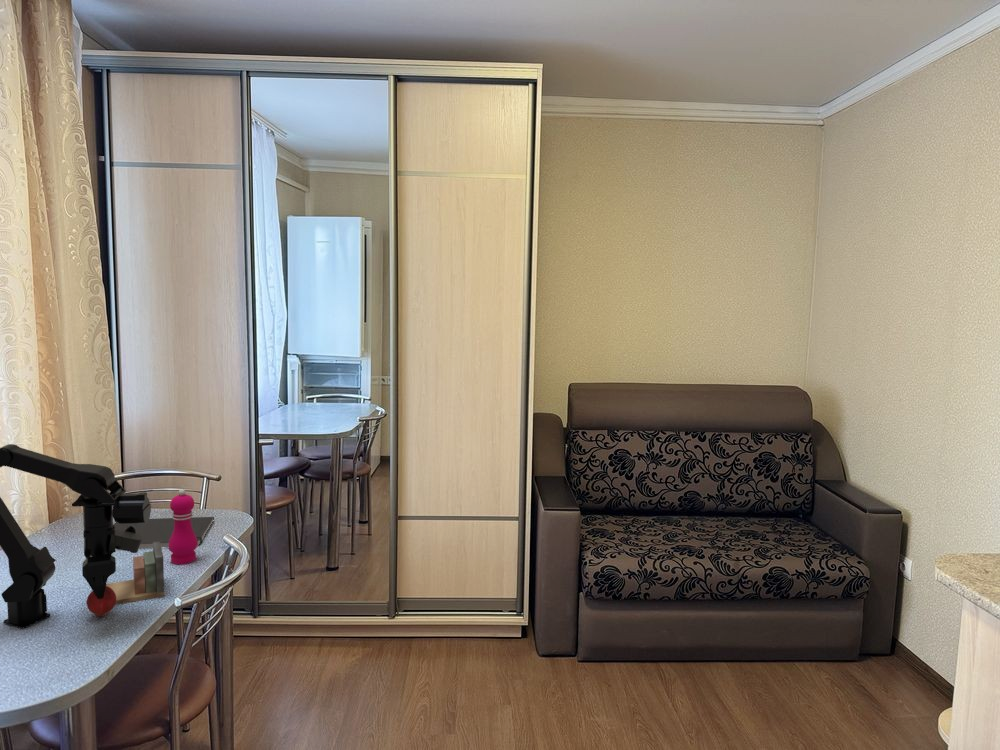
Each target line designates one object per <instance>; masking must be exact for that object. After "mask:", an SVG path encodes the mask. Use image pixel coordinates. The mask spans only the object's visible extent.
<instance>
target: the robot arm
mask: <svg viewBox="0 0 1000 750" xmlns="http://www.w3.org/2000/svg"><path fill="white" fill-rule="evenodd" d="M2 467H8V468H11V469H15V470H18V471H22V472H24V473H28V474H32V475H34V476H35V475H36V476H38V477H42V478H45V479H47V480H48V479H49V480H52V481H54V482H58V483H61V484H63V485H64V486H66V487H68V489H70V490H71V491H73V492H75V493H77V494H79V496H78V497H77V499H76V500H75V501H74V502H72V503H71V506H72V507H73V508H74V507H75V508H76V507H82V515H83V516H82V517H83V518H82V520H83V521H82V523H83V525H82V526H83V532H82V533H83V536H82V537H83V556H84V557H85V560H84V561H82V569H81V572H82V573H81V574H82V577H83V578H84V580H86V582H87V585H88V586H89V587H90V588H91V591H93V592H94V594H95V595H96V597H97V599H102V598H103V597H104V593H105V588H106V584H108V579H109V578H110V576H112V575H114V574H115V573H116V571H117V568H116V567H117V566H116V565H117V561H116V557H115V556H113V554H114V553H116V551H124V552H130V553H131V554H137V553H138V551H139V550H140V549H139V546H140V544H141V541H142V536H141V534H139V533H136V531H135V526H131V525H128V526H127V527H126V528H125V529H123V530H122V529H121V530H115V525H113V524H114V522H115V523H116V522H118V523H119V524H128V523H147V522H148V521H149V519H151V518H150V517H151V512H152V504H151V502H150V499H149V496H148V493H147V491H145V492H144V491H143V492H141V491H140V492H135V493H133V492H132V493H131V492H129V493H126V492H127V490H126V489H125V488H124V487H123V486H122V484H121V483H120V482H119V481H118V480H117V479H116V478H115V477H116V476H115V474H114V472H113V470H112V468H110V467H108V466H105V465H99V464H92V463H72V462H69V461H66V460H63V459H60V458H56V457H53V456H50V455H46V454H43V453H40V452H36V451H33V450H31V449H27V448H23V447H20V446H18V445H17V444H14V443H9V444H5V445H4V446H2V447H0V468H2ZM0 548H1V549H2V551H3V552H4V555H5V556H6V557H7V560H8V562H7V563H8V570H9V571H8V572H9V575H10V578H11V580H12V583H11V584H10V585H9V586H8V587H7V588H6V589H5V590H4V591H3V592H1V594H0V595H1V597H2V599H3V601H4V603H7V604H6V605H7V618H6V619H4V620H3V624H5V625H10V626H12V627H16V628H19V629H25V628H28V627H29V626H31V625H34V624H37V623H39V622H41V621H43V620H45V619H47V618H50V617H51V613H48V612H47V611H48V606H47V604H48V603H47V601H48V600H47V594H45V589H44V588H43V587H45V586H46V584H47V582H48V581H49V580H50V579H51V578H52V577H53V576H54V574H55V571H56V565H55V562H56V561H57V560H56V559H55V558H54V557H53V556H52V555H51V554H50V552H49V551H50V550H49V549H48V547H47V546H43V547H42V548H38V547H36V546H34V545H33V544H32V543H31V542H30V540H29V539H28V537H27V536H26V534H25V533H24V531H23V529H22V528H21V526H20V525H19V524H18V522H17V520H16V519H15V517H14V516H13V515H12V513H11V511H10V509H9V508H8V506H7V505H6V503H5V502H4V500H3V498H2V497H1V496H0ZM115 548H116V549H118V550H115Z"/></svg>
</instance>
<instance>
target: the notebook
mask: <svg viewBox="0 0 1000 750" xmlns="http://www.w3.org/2000/svg"><path fill="white" fill-rule="evenodd" d="M213 520H214V521H215V516H196V517H195V516H192V517H191V526H192V529H193V532H194V533H195V535H196V538H197V543H198V545H199V544H200V545H201V544H202V543H203V540H204V538H205V537H206V535H207V533H208V532H207V530H208V529H209V530H210V528H211V527H210V525H211V524H212V525H213V523H214V522H213ZM212 522H213V523H212ZM113 525H115V530H121V529H122V530H123V529H125V528H126V527H127V526H128V525H131V526H135V531H136V533H139V534H141V536H142V541H141V544H140V546H139V548H149V549H153V542H160V544H161V547H169V541H170V538H171V536H172V533H173V531H174V519H173V518H172V517H167V518H149V521H148V522H147V523H128V524H119V523H118V522H115V523H113ZM212 525H211V526H212ZM209 527H210V528H209ZM209 530H208V531H209ZM206 532H207V533H206ZM205 534H206V535H205ZM204 536H205V537H204ZM198 545H197V547H198ZM200 545H199V546H200ZM115 549H116V548H115Z"/></svg>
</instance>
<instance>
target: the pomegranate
mask: <svg viewBox="0 0 1000 750" xmlns="http://www.w3.org/2000/svg"><path fill="white" fill-rule="evenodd" d="M115 603H116V594H115V592H114V591H113V590H112V589H111V588H110V587H108V586H106V588H105V593H104V597H103V598H102V599H97V597H96V595H95V594H94V592H93V590H91V592H90V593H89V594H88V596H87V598H86V606H87V609H88V610H89V612H90V613H92V614H93V615H96V616H98V617H105V616H106V614H108V613H109V612H111V610H112V609H113V608H114V607H115Z"/></svg>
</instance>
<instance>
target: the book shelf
mask: <svg viewBox="0 0 1000 750" xmlns="http://www.w3.org/2000/svg"><path fill="white" fill-rule="evenodd" d="M132 565H133V568H132V571H133V578H132V579H128V580H122V581H115V582H110V583H108V582H107V583H106V586H108V587H110V588H111V589H112V590H113V591H114V592H115V594H116V603H115V605H121V604H125V603H126V604H128V603H131V602H139V601H143V600H144V599H145V600H150V599H155V598H156V599H157V598H161V597H160V596H162V597H165V573H164V572H165V569H164V555H163V548H161V544H160V542H153V548H152V551H144V552H142V555H138V556H133V557H132ZM115 605H114V606H115Z"/></svg>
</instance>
